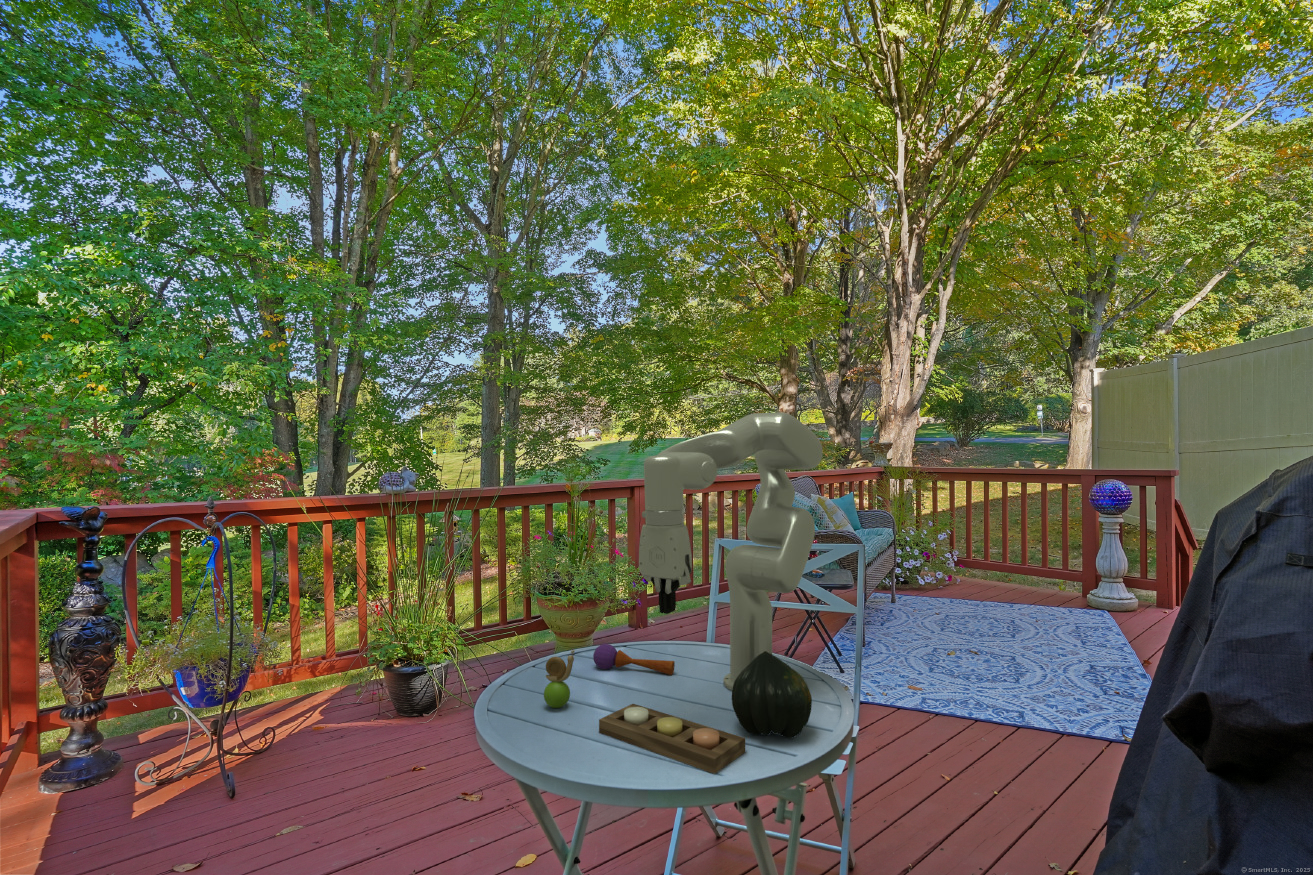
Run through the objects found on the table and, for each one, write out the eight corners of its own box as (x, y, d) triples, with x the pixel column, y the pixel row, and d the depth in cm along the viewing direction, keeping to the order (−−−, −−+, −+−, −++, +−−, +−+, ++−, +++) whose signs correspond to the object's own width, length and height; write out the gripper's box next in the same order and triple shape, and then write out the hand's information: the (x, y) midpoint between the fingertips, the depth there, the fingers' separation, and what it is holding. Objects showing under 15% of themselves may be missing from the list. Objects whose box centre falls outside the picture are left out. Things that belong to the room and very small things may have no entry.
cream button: (634, 714, 129) (634, 704, 129) (653, 719, 126) (653, 710, 126) (619, 721, 126) (619, 712, 126) (637, 727, 123) (637, 718, 123)
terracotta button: (702, 735, 119) (702, 725, 119) (724, 742, 117) (724, 732, 117) (687, 744, 116) (687, 734, 116) (709, 752, 113) (709, 741, 113)
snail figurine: (569, 713, 134) (569, 654, 134) (539, 711, 135) (540, 652, 136) (578, 703, 139) (578, 646, 140) (549, 701, 141) (549, 644, 141)
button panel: (632, 715, 133) (632, 703, 133) (745, 752, 117) (745, 737, 117) (599, 732, 125) (599, 719, 125) (714, 773, 109) (714, 758, 109)
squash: (795, 728, 114) (806, 647, 124) (714, 716, 121) (731, 640, 130) (812, 758, 123) (821, 680, 133) (736, 745, 130) (750, 672, 139)
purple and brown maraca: (670, 662, 154) (589, 648, 160) (669, 686, 156) (589, 671, 161) (676, 650, 160) (598, 637, 166) (675, 673, 161) (598, 659, 167)
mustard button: (667, 724, 124) (667, 714, 124) (687, 730, 121) (687, 721, 121) (652, 732, 121) (652, 722, 121) (672, 739, 118) (672, 729, 118)
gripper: (622, 518, 131) (626, 611, 131) (685, 523, 122) (688, 622, 122) (646, 513, 137) (649, 602, 137) (707, 518, 128) (710, 612, 128)
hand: (667, 611), depth 129 cm, fingers closed
